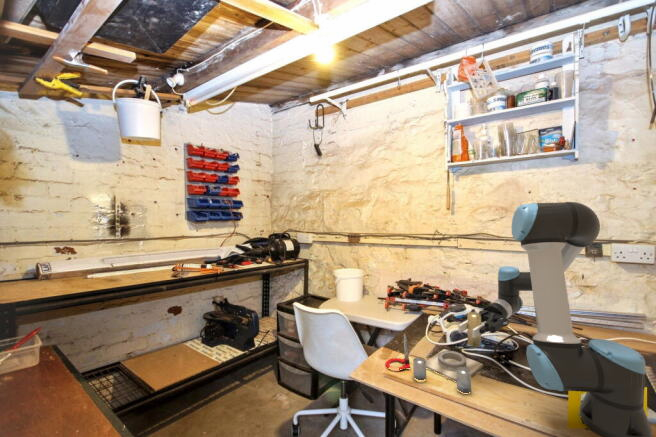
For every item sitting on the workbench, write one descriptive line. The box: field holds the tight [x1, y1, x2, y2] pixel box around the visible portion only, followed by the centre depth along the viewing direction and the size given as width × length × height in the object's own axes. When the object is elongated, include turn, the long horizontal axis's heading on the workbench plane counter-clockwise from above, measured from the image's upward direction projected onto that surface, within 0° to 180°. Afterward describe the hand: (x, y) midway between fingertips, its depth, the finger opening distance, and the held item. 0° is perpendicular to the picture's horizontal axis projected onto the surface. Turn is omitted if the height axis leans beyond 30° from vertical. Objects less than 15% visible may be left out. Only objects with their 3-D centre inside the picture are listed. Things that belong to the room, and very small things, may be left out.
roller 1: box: [412, 356, 427, 380], centre depth 116 cm, size 4×4×7 cm
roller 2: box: [456, 367, 472, 393], centre depth 109 cm, size 4×4×7 cm
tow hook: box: [384, 333, 412, 370], centre depth 125 cm, size 8×13×9 cm
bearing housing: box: [426, 348, 484, 383], centre depth 123 cm, size 16×16×4 cm
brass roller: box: [466, 311, 482, 348], centre depth 115 cm, size 4×4×11 cm
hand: (466, 331), depth 111 cm, fingers closed on brass roller, 4 cm apart
